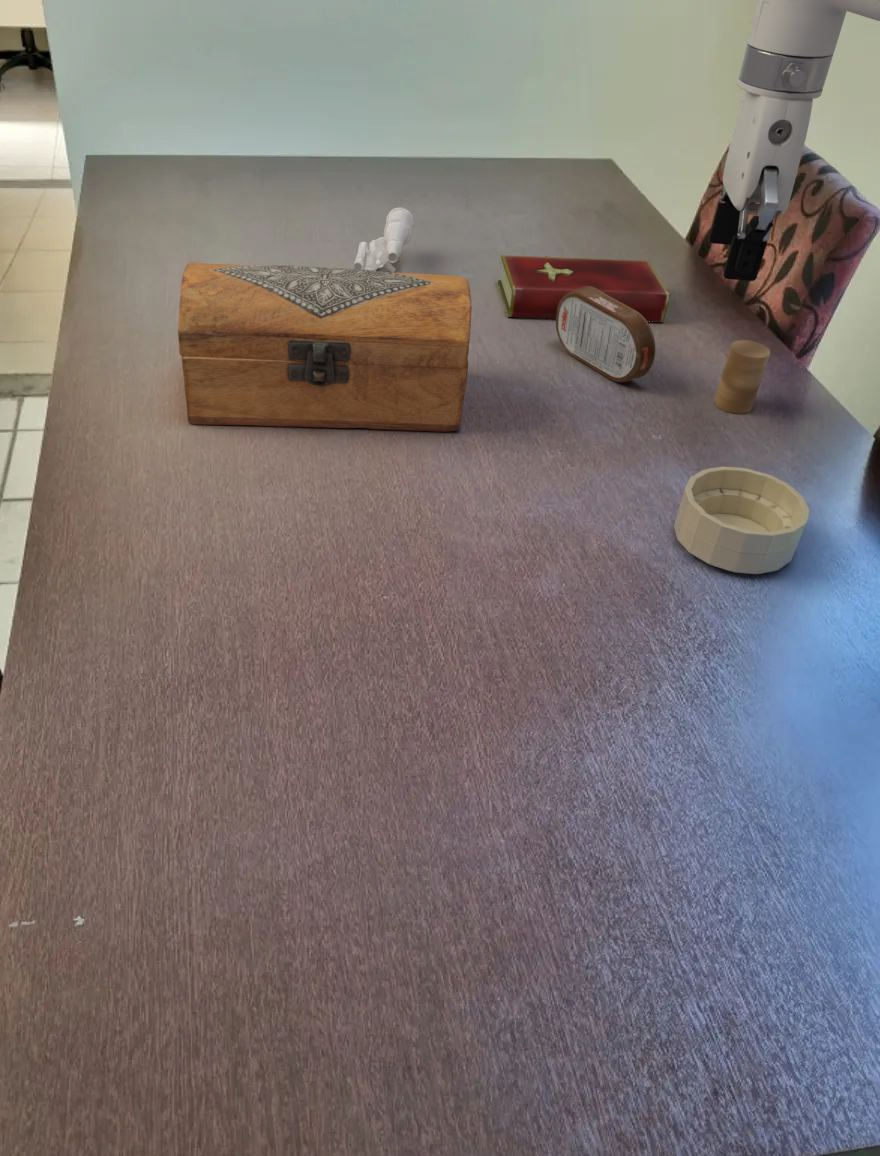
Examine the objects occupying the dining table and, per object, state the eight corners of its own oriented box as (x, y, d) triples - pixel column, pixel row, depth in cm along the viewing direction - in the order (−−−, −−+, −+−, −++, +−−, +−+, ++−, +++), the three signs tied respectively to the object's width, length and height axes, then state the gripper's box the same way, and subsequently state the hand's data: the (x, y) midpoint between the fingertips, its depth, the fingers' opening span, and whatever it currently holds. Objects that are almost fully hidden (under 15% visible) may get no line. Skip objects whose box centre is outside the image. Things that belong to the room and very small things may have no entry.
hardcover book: (663, 324, 130) (670, 293, 128) (508, 319, 129) (513, 287, 126) (642, 288, 139) (649, 258, 136) (497, 282, 138) (501, 252, 135)
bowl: (813, 549, 94) (832, 505, 90) (748, 594, 88) (766, 550, 84) (716, 496, 99) (730, 454, 96) (649, 535, 94) (662, 492, 90)
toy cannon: (375, 300, 135) (348, 271, 132) (383, 263, 145) (359, 235, 143) (417, 263, 131) (391, 232, 129) (423, 227, 142) (398, 198, 139)
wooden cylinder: (759, 406, 115) (778, 350, 110) (738, 417, 112) (756, 361, 108) (727, 391, 117) (744, 336, 112) (706, 402, 115) (723, 346, 110)
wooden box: (182, 429, 103) (168, 302, 94) (204, 359, 116) (194, 240, 106) (462, 442, 105) (476, 318, 95) (455, 371, 117) (466, 255, 108)
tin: (648, 389, 116) (665, 322, 111) (629, 395, 115) (645, 327, 109) (565, 340, 125) (576, 275, 119) (546, 345, 124) (557, 279, 118)
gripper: (849, 98, 82) (784, 297, 93) (804, 54, 95) (752, 234, 106) (759, 91, 82) (706, 290, 93) (727, 48, 95) (683, 228, 106)
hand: (731, 260), depth 100 cm, fingers open, 9 cm apart
